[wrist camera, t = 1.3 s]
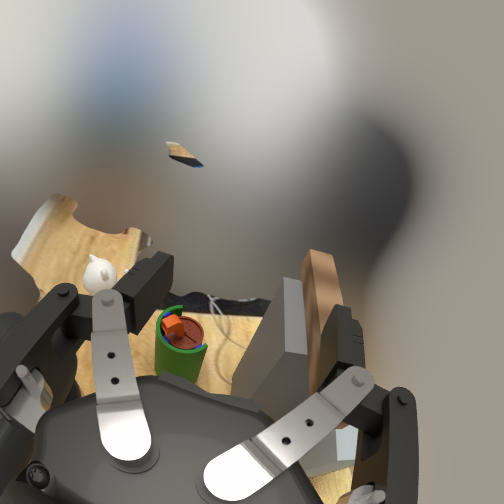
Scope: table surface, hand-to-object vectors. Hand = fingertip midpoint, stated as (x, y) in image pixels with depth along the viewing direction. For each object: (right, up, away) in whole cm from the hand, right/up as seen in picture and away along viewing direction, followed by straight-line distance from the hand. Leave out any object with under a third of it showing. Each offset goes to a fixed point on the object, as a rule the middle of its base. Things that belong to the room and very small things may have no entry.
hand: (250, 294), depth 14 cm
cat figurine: (-34, -10, +51) cm, 63 cm away
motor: (-16, -23, +44) cm, 52 cm away
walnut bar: (+8, -8, +20) cm, 23 cm away
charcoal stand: (0, -30, +42) cm, 52 cm away
